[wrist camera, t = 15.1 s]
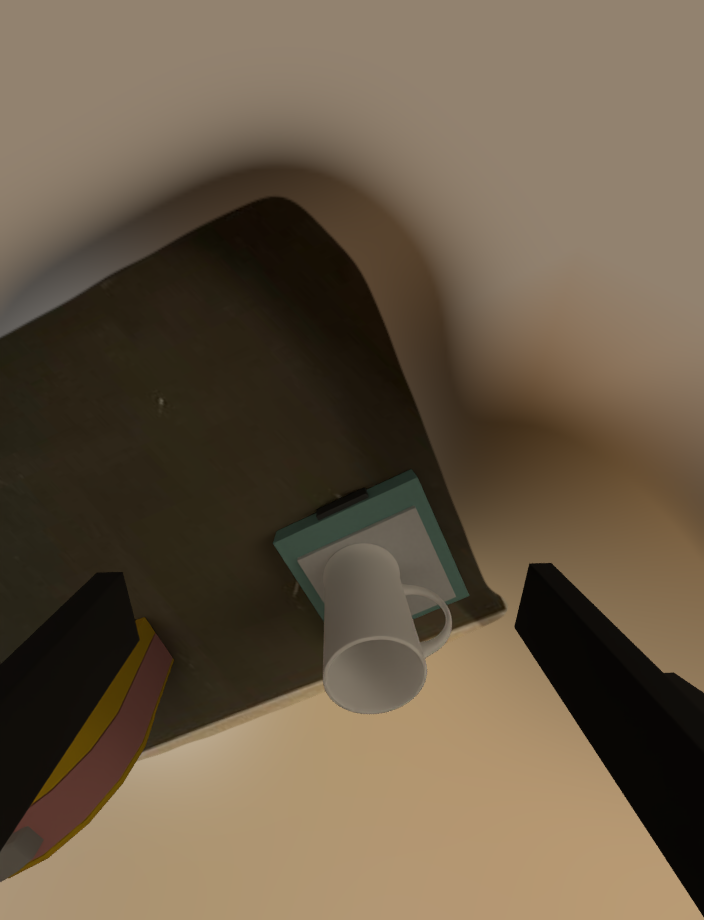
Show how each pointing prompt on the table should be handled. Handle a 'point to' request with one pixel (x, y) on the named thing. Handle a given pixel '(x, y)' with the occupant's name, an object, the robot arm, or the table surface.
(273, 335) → the table surface
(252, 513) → the table surface
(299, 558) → the scale
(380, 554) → the mug
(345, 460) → the table surface
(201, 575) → the table surface
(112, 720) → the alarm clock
